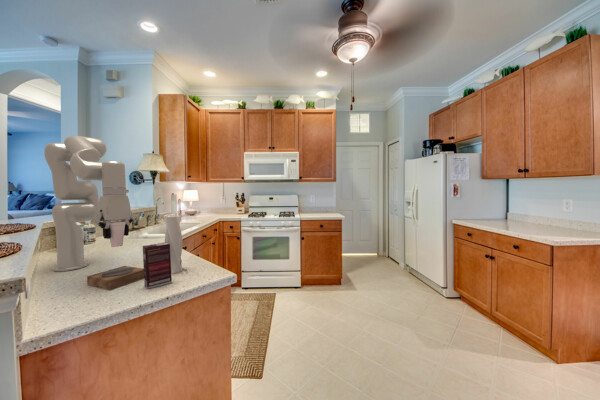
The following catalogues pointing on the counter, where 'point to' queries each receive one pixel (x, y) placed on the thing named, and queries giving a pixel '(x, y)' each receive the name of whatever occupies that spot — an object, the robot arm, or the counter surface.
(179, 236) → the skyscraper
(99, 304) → the counter surface
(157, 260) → the supplement box
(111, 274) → the plinth
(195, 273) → the counter surface
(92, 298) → the counter surface
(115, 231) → the smoothie
